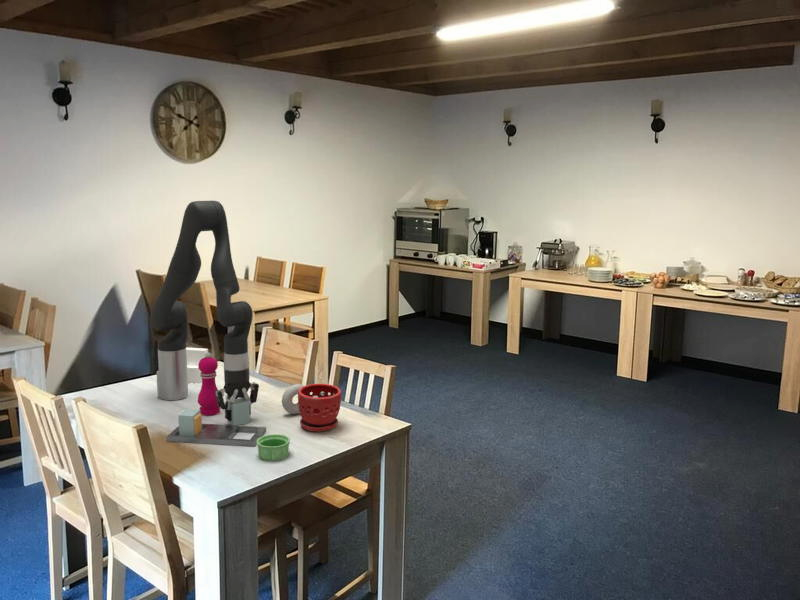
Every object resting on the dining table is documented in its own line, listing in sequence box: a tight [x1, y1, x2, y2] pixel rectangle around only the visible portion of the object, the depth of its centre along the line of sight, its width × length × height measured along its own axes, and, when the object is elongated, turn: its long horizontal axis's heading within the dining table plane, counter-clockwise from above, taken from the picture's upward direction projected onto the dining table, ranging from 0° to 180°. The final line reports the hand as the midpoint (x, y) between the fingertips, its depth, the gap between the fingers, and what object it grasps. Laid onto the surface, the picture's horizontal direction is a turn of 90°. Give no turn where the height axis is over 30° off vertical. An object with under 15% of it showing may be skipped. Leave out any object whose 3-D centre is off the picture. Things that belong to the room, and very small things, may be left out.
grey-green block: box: [227, 398, 251, 426], centre depth 204 cm, size 5×5×7 cm
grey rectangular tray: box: [166, 423, 267, 448], centre depth 193 cm, size 26×11×2 cm, turn 84°
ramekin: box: [256, 433, 291, 461], centre depth 181 cm, size 9×9×4 cm
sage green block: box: [177, 408, 203, 436], centre depth 193 cm, size 5×5×7 cm
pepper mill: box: [197, 352, 221, 416], centre depth 211 cm, size 7×7×20 cm
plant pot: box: [297, 383, 342, 433], centre depth 201 cm, size 13×13×12 cm
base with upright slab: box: [186, 346, 209, 385], centre depth 244 cm, size 9×9×12 cm
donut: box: [281, 383, 305, 415], centre depth 212 cm, size 10×4×10 cm, turn 126°
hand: (238, 418), depth 204 cm, fingers closed on grey-green block, 5 cm apart
